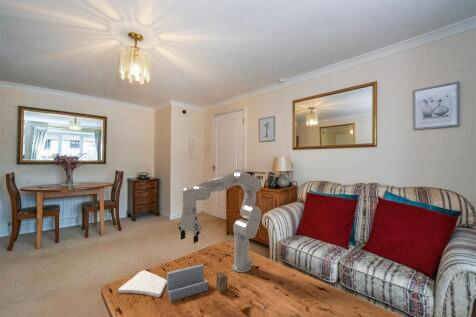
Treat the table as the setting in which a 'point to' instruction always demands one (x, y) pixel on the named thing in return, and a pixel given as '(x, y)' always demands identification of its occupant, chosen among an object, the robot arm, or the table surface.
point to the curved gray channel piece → (186, 282)
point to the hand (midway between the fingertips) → (189, 240)
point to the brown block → (221, 282)
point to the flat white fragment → (144, 284)
